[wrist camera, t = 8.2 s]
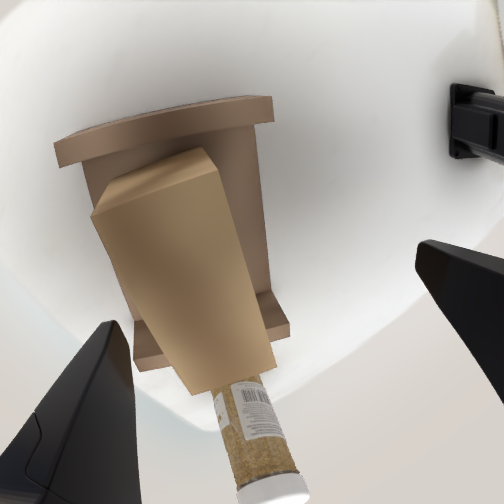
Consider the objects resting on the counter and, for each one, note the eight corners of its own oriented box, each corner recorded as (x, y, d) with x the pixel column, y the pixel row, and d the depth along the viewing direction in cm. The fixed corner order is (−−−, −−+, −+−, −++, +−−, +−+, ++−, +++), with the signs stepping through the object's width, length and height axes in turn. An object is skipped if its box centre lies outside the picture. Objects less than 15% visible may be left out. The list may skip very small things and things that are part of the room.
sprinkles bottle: (194, 373, 26) (228, 520, 15) (232, 343, 25) (285, 495, 14) (231, 391, 28) (272, 520, 17) (267, 364, 28) (324, 496, 16)
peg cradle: (247, 95, 17) (271, 96, 13) (269, 298, 24) (290, 336, 20) (77, 131, 15) (53, 143, 12) (140, 328, 22) (139, 372, 19)
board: (201, 146, 14) (217, 169, 10) (251, 307, 20) (277, 367, 15) (111, 178, 14) (90, 216, 10) (181, 331, 19) (191, 395, 15)
